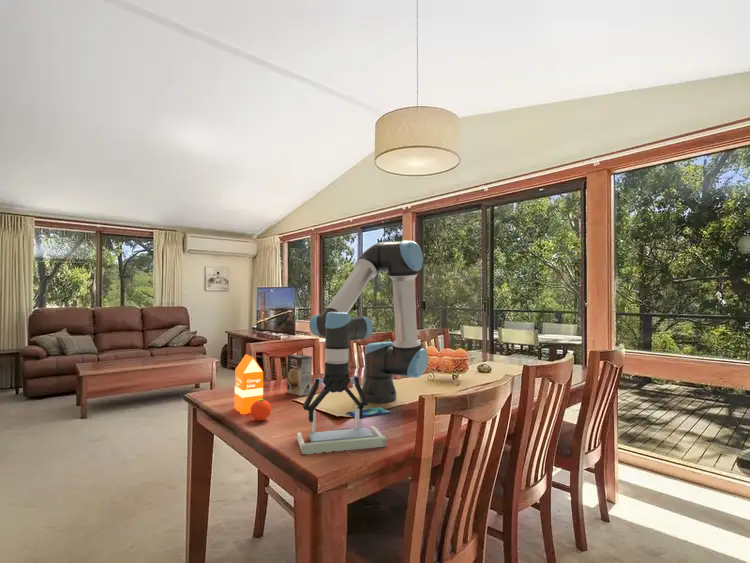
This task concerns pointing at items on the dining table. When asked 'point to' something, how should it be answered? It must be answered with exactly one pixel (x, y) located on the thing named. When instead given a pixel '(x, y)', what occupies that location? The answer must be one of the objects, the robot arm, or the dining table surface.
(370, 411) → the smartphone
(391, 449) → the dining table surface
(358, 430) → the blue-grey rectangular slab
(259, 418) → the clementine
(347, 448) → the docking bay
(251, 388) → the orange juice
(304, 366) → the coffee box
